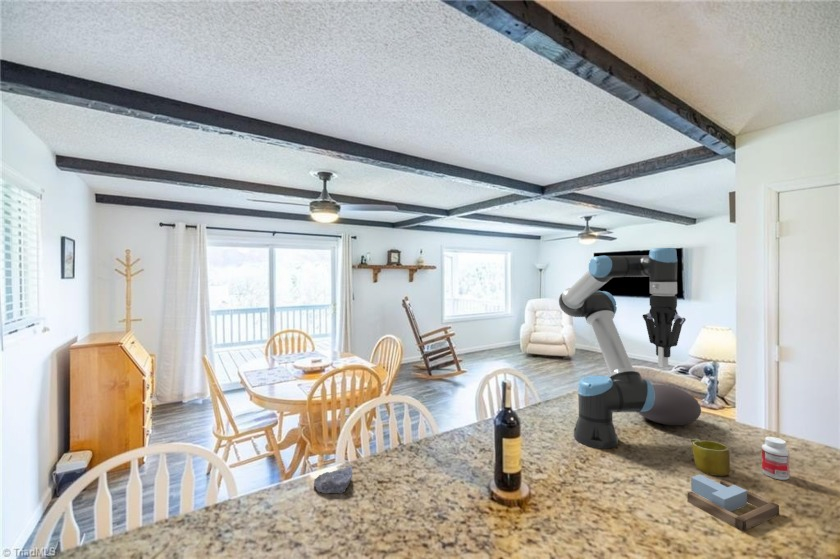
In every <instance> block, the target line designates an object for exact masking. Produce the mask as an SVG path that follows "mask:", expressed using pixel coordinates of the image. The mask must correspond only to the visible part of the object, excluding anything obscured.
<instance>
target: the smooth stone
mask: <svg viewBox="0 0 840 559" xmlns="http://www.w3.org/2000/svg"><path fill="white" fill-rule="evenodd" d="M652 386H653V388H654V392H655V401H654V405H653V407H652V408H651V409H650V410H649V411H645V412H639V413H638V414H639V415H640V416H641V417H643V418H645V419H648V420H649V421H651V422H654V423H657V424H661V425H667V426H683V425H689V424H691V423H693V422H695V421H696V420H698V419H699V418H700V416H701V413H702V408H701V405H700V403H699V401H698V400H697V399H696V398H695V397H694V396H693V395H691V394H690V393H688V392H687V391H685V390H684V389H680V388H679V387H676V386H671V385H668V384H667V385H666V384H657V383H656V384H652Z"/></svg>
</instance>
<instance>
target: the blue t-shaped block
mask: <svg viewBox="0 0 840 559" xmlns="http://www.w3.org/2000/svg"><path fill="white" fill-rule="evenodd" d="M690 481H691V482H690V483H691V485H690V492H693V493H695V494H697V495H699V496H701V497H703V498H705V499H707V500H709V501H711V502H712V503H714V504H716V505H718V506H720V507H722V508H724V509H726V510H728V511H730V512H732V513H733V511H735V510H738V508H739V509H741V508H743V506H744V507H746V506H747V505H748V503H747V491H748V490H747V489H745V490H744V488H742V487H740V486H738V485H735V484H734V485H732V486H730V487H726V486H724V485H722V484H720V482H717V481H715V480H713V479H710V478H708V477H707V476H705V475H702V474H697V475H694V476H691V478H690Z"/></svg>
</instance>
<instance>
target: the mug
mask: <svg viewBox="0 0 840 559" xmlns="http://www.w3.org/2000/svg"><path fill="white" fill-rule="evenodd" d="M690 441H691V442H690V443H691V449H692V455H693V460H694V464H695V468H697V469H698V470H699V471H700V472H702V473H704V474H707V475H712V476H717V477H720V476H721V477H722V476H723V477H725V476H728V475H729V476H730V473H731V461H730V459H731V457H730V454H731V453H730V449H729V447H728V446H726V444H723V443H720V442H718V441H714V440H713V441H712V440H700V439H699V438H692V439H691V440H690Z"/></svg>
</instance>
